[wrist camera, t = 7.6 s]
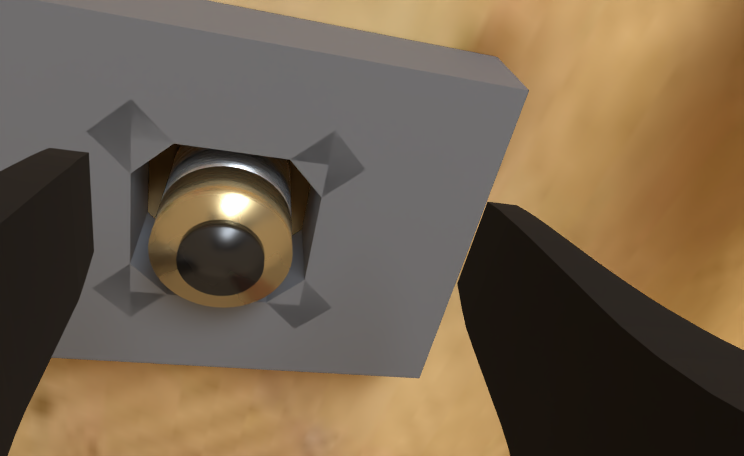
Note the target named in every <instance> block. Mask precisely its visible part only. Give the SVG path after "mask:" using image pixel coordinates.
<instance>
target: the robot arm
mask: <svg viewBox="0 0 744 456" xmlns="http://www.w3.org/2000/svg"><path fill="white" fill-rule="evenodd" d="M93 253H94V240H93V221H92V202H91V183H90V164H89V153H88V152H80V151H72V150H64V149H56V148H47V149H45V150H42V151H40V152H38V153H36V154H33V155H31V156H29V157H27V158H25V159H23V160H21V161H19V162H17V163H15V164H13V165H11V166H9V167H7V168H5V169H4V170H2V171H0V456H8V453H9V450H10V448H11V445H12V442H13V439H14V436H15V434H16V431H17V429H18V427H19V424H20V422H21V420H22V417H23V415H24V413H25V410H26V408H27V406H28V404H29V402H30V400H31V398H32V396H33V394H34V392H35V390H36V388H37V386H38V384H39V382H40V379H41V377H42V375H43V373H44V371H45V369H46V367H47V365H48V363H49V361H50V359H51V357H52V355H53V353H54V351H55V349H56V347H57V345H58V343H59V341H60V339H61V336H62V334H63V332H64V330H65V328H66V326H67V324H68V322H69V320H70V318H71V316H72V313H73V311H74V309H75V307H76V305H77V303H78V301H79V298H80V295H81V292H82V289H83V286H84V283H85V280H86V277H87V273H88V270H89V267H90V263H91V260H92V257H93ZM457 284H458V290H459V295H460V301H461V306H462V311H463V316H464V320H465V325H466V329H467V332H468V334H469V337H470V340H471V343H472V346H473V349H474V352H475V354H476V357H477V360H478V363H479V366H480V368H481V371H482V374H483V376H484V379H485V382H486V385H487V387H488V390H489V393H490V395H491V398H492V401H493V404H494V406H495V409H496V412H497V415H498V417H499V420H500V423H501V426H502V429H503V432H504V435H505V438H506V442H507V445H508V448H509V452H510V456H744V350H742V349H740V348H738V347H736V346H734V345H732V344H730V343H728V342H726V341H724V340H722V339H720V338H718V337H716V336H714V335H712V334H711V333H709V332H707V331H705V330H703V329H701V328H700V327H698V326H696V325H694V324H693V323H691V322H689V321H687V320H686V319H684V318H682V317H680V316H679V315H677V314H675V313H674V312H672V311H670V310H668V309H667V308H665V307H663V306H662V305H660V304H659V303H657V302H655V301H654V300H652V299H651V298H649V297H647V296H646V295H644V294H643V293H641V292H640V291H638V290H637V289H635V288H634V287H632V286H631V285H630V284H628V283H627V282H625V281H624V280H622V279H621V278H619V277H618V276H616V275H615V274H613V273H612V272H611V271H609V270H608V269H606V268H605V267H603V266H602V265H601V264H599V263H598V262H597V261H595V260H594V259H592V258H591V257H590V256H588V255H587V254H586V253H584V252H583V251H582V250H580V249H579V248H578V247H576V246H575V245H574V244H572V243H571V242H569V241H568V240H567V239H565V238H564V237H563V236H561V235H560V234H559V233H557V232H556V231H555V230H553V229H552V228H551V227H549V226H548V225H546V224H545V223H544V222H542V221H541V220H539V219H538V218H536V217H535V216H533V215H532V214H530V213H529V212H527V211H526V210H524V209H522V208H520V207H519V206H517V205H509V204H501V203H493V202H487V205H486V208H485V210H484V213H483V216H482V219H481V221H480V224H479V227H478V229H477V232H476V235H475V237H474V240H473V243H472V246H471V248H470V251H469V254H468V256H467V259H466V262H465V264H464V267H463V270H462V273H461V275H460V278H459V281H458V283H457Z"/></svg>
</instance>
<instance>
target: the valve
mask: <svg viewBox="0 0 744 456" xmlns="http://www.w3.org/2000/svg"><path fill="white" fill-rule="evenodd" d="M148 254H149V259H150V263H151V265H152V268H153V270H154V272H155V273H156V275H157V277H158V278H159V279H160V280H161V282H162V283H163V284H164V285H165V286H166V287H167V288H169V289H170V290H171V291H172V292H174V293H175V294H177V295H179V296H180V297H182V298H184V299H186V300H188V301H191V302H194V303H197V304H200V305H204V306H210V307H222V308H226V307H237V306H243V305H247V304H250V303H253V302H256V301H258V300H260V299H262V298H264V297H266V296H267V295H269V294H270V293H272V292H273V291H274V290H275V289H276V288H278V287H279V285H280V284H281V283H282V282H283V281H284V279H285V278H286V276H287V274H288V272H289V270H290V267H291V263H292V256H293V253H292V220H291V187H290V169H289V165H288V162H287V159H282V158H275V157H267V156H260V155H253V154H246V153H239V152H231V151H224V150H217V149H210V148H203V147H195V146H188V145H181V146H180V148H179V149H178V151H177V153H176V156H175V159H174V162H173V165H172V168H171V172H170V175H169V178H168V181H167V184H166V187H165V190H164V194H163V197H162V200H161V203H160V206H159V209H158V212H157V215H156V219H155V222H154V225H153V228H152V231H151V234H150V238H149V243H148Z"/></svg>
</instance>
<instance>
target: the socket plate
mask: <svg viewBox="0 0 744 456" xmlns="http://www.w3.org/2000/svg"><path fill="white" fill-rule="evenodd" d="M528 92H529V90H528V89H527V88H526V87H525V86H524V85H523V84H522V83H521V82H520V80H519V79H518V78H517V77H516V76H515V75H514V74H513V73H512V72H511V71H510V70H509V69H508V68H507V67H506V66H505V65H504V64H503V63H502V62H501V61H500V60H499V58H498V57H494V56H489V55H484V54H479V53H474V52H469V51H464V50H458V49H453V48H448V47H443V46H438V45H433V44H428V43H423V42H417V41H412V40H407V39H402V38H397V37H392V36H387V35H382V34H376V33H371V32H366V31H361V30H356V29H351V28H346V27H341V26H335V25H330V24H325V23H320V22H315V21H310V20H305V19H299V18H294V17H289V16H284V15H279V14H274V13H269V12H264V11H258V10H253V9H248V8H243V7H238V6H233V5H228V4H223V3H217V2H212V1H207V0H0V171H2V170H4V169H5V168H7V167H9V166H11V165H13V164H15V163H17V162H19V161H21V160H23V159H25V158H27V157H29V156H31V155H33V154H36V153H38V152H40V151H42V150H45V149H47V148H56V149H64V150H72V151H80V152H88V153H89V164H90V183H91V202H92V221H93V240H94V253H93V257H92V260H91V263H90V267H89V270H88V273H87V277H86V280H85V283H84V286H83V289H82V292H81V295H80V298H79V301H78V303H77V305H76V307H75V309H74V311H73V313H72V316H71V318H70V320H69V322H68V324H67V326H66V328H65V330H64V332H63V334H62V336H61V339H60V341H59V343H58V345H57V347H56V349H55V351H54V353H53V355H52V357H51V358H67V359H85V360H103V361H121V362H139V363H156V364H174V365H192V366H210V367H228V368H246V369H264V370H281V371H299V372H317V373H335V374H353V375H371V376H389V377H406V378H420V375H421V372H422V370H423V367H424V364H425V362H426V359H427V357H428V354H429V351H430V349H431V346H432V343H433V341H434V338H435V336H436V333H437V330H438V328H439V325H440V323H441V320H442V317H443V315H444V312H445V309H446V307H447V304H448V302H449V299H450V296H451V294H452V291H453V288H454V286H455V283H456V281H457V278H458V275H459V273H460V270H461V267H462V265H463V262H464V260H465V257H466V254H467V252H468V249H469V246H470V244H471V241H472V239H473V236H474V233H475V231H476V228H477V225H478V223H479V220H480V218H481V215H482V212H483V210H484V207H485V204H486V202H487V199H488V197H489V194H490V191H491V189H492V186H493V183H494V181H495V178H496V176H497V173H498V170H499V168H500V165H501V163H502V160H503V157H504V155H505V152H506V149H507V147H508V144H509V142H510V139H511V136H512V134H513V131H514V128H515V126H516V123H517V121H518V118H519V115H520V113H521V110H522V107H523V105H524V102H525V100H526V97H527V94H528ZM172 144H181V145H188V146H195V147H203V148H210V149H217V150H224V151H231V152H239V153H246V154H253V155H260V156H267V157H275V158H282V159H289V160H291V161H292V163H293V164H294V165H295V166H296V167H297V169H298V170H299V171H300V172H301V173H302V175H303V176H304V177H305V178H306V179H307V181H308V182H309V183H310V190H309V195H308V200H307V205H306V210H305V216H304V221H303V226H302V230H300V231H299V232H297V233H295V234H294V235H292V253H293V256H292V263H291V267H290V270H289V272H288V274H287V276H286V278H285V279H284V281H283V282H282V283H281V284H280V285H279V287H278V288H276V289H275V290H274V291H273V292H272V293H270V294H269V295H267V296H266V297H264V298H262V299H260V300H258V301H256V302H253V303H250V304H247V305H243V306H237V307H226V308H222V307H210V306H204V305H200V304H197V303H194V302H191V301H188V300H186V299H184V298H182V297H180V296H179V295H177V294H175V293H174V292H172V291H171V290H170V289H169V288H167V287H166V286H165V285H164V284H163V283H162V282H161V280H160V279H159V278H158V277H157V275H156V273H155V272H154V270H153V268H152V265H151V263H150V259H149V254H148V243H149V238H150V234H151V231H152V228H153V225H154V222H155V219H154V218H153V217H152V216H151V215H150V214H149V213H148V178H149V160H151V159H152V158H154V157H155V156H157V155H158V154H159V153H161V152H162V151H164V150H165V149H167V148H168V147H170V146H171V145H172Z"/></svg>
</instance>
